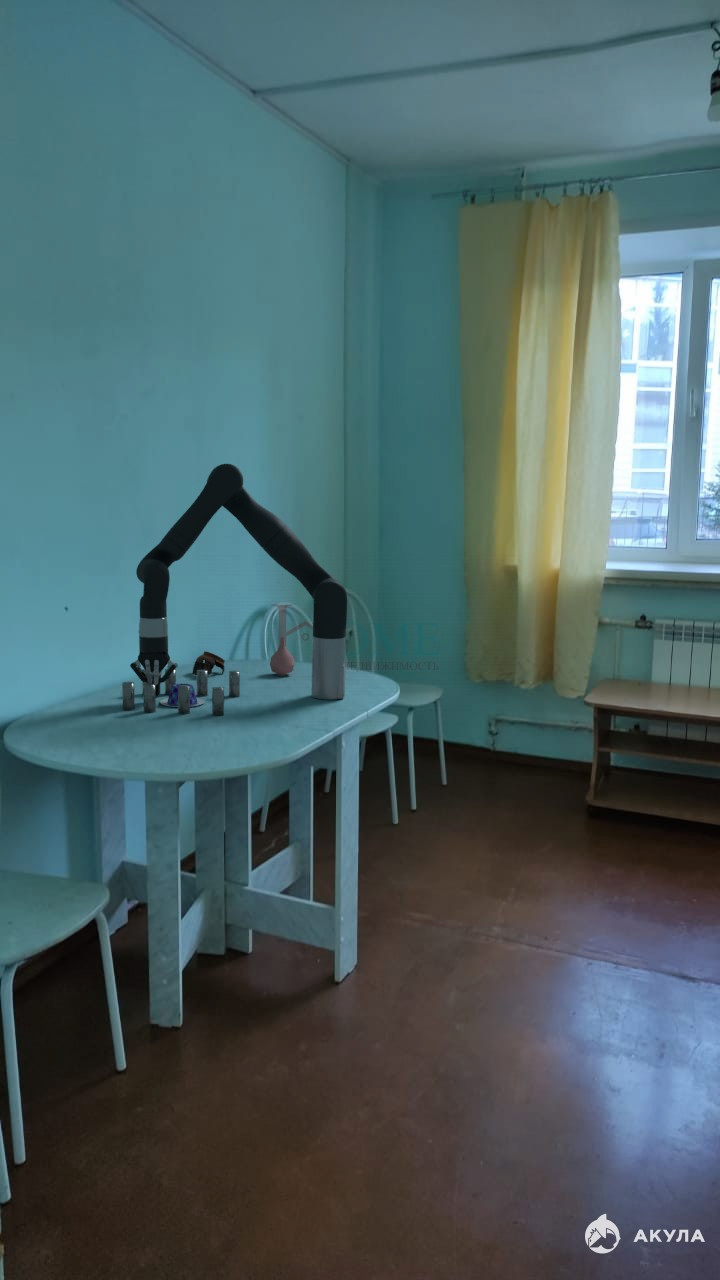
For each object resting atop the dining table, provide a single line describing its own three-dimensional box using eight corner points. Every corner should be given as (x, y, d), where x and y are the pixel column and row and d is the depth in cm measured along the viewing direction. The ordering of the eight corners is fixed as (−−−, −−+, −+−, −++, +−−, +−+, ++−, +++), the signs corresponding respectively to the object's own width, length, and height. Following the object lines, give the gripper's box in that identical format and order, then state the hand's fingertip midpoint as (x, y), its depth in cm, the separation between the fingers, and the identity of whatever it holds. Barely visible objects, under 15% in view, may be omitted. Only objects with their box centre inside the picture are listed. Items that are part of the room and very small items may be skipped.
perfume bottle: (293, 677, 287) (293, 639, 285) (268, 677, 287) (269, 639, 285) (295, 673, 295) (295, 635, 293) (271, 672, 295) (271, 635, 293)
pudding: (157, 709, 243) (157, 690, 242) (162, 699, 255) (162, 680, 254) (203, 709, 244) (203, 690, 244) (206, 699, 256) (206, 680, 255)
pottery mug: (188, 673, 292) (200, 650, 293) (215, 686, 294) (227, 663, 295) (191, 671, 280) (203, 647, 282) (219, 684, 282) (231, 660, 284)
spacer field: (240, 695, 261) (240, 670, 260) (222, 716, 237) (222, 689, 235) (146, 691, 263) (146, 667, 262) (118, 712, 238) (118, 685, 237)
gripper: (181, 632, 250) (182, 695, 253) (133, 631, 251) (134, 693, 254) (174, 636, 243) (175, 701, 246) (124, 635, 244) (126, 699, 247)
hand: (154, 697), depth 250 cm, fingers closed
